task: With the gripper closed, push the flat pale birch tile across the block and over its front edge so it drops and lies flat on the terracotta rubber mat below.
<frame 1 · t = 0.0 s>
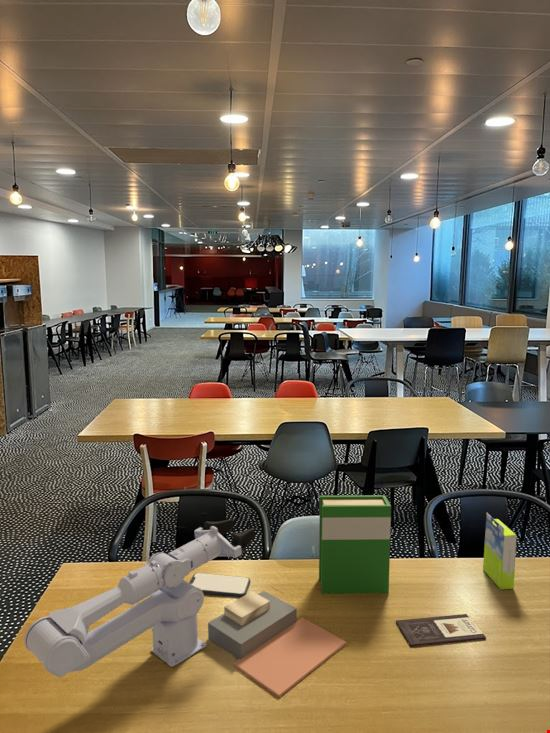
hand: (243, 527, 130), 22 cm above the table, tool horizontal, fingers open, 7 cm apart
phone case: (219, 588, 144), on the table
chocolate bar: (439, 633, 125), on the table
mat: (291, 654, 117), on the table
block: (253, 631, 125), on the table
hardback book: (352, 586, 144), on the table
tile: (247, 607, 125), point 5 cm above the table, touching block
box: (497, 579, 147), on the table
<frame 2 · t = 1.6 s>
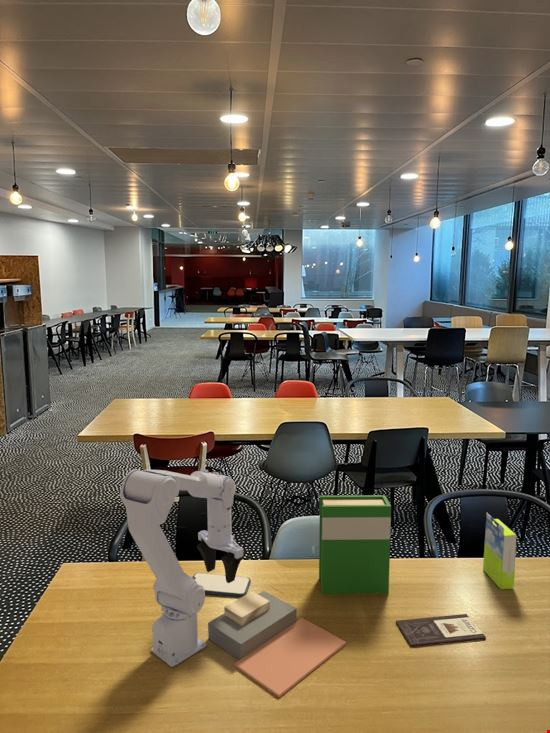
hand: (220, 575, 131), 9 cm above the table, tool pointing down, fingers open, 7 cm apart
nothing on the table moved.
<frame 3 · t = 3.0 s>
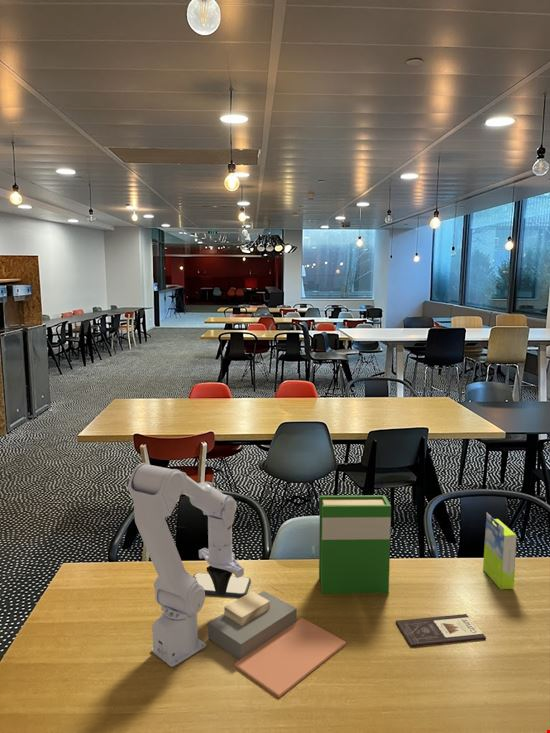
hand: (221, 593, 132), 5 cm above the table, tool pointing down, fingers closed
nothing on the table moved.
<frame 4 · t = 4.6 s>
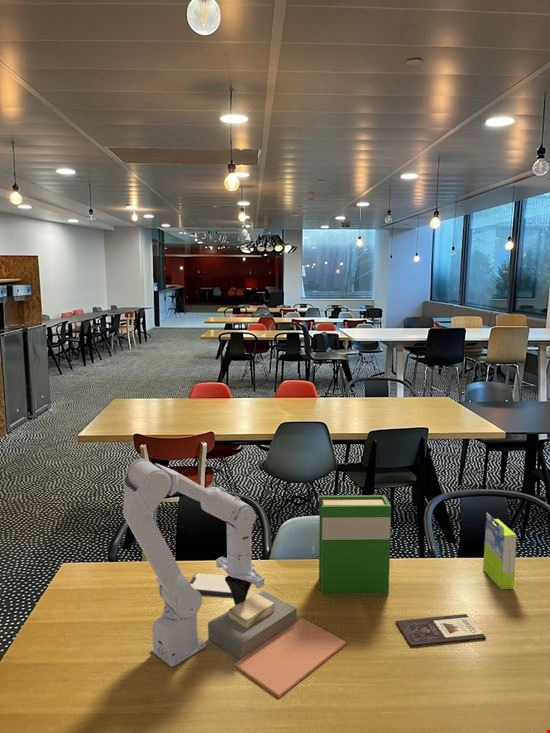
hand: (239, 604, 127), 5 cm above the table, tool pointing down, fingers closed
tile: (251, 610, 124), point 5 cm above the table
everything else where it was.
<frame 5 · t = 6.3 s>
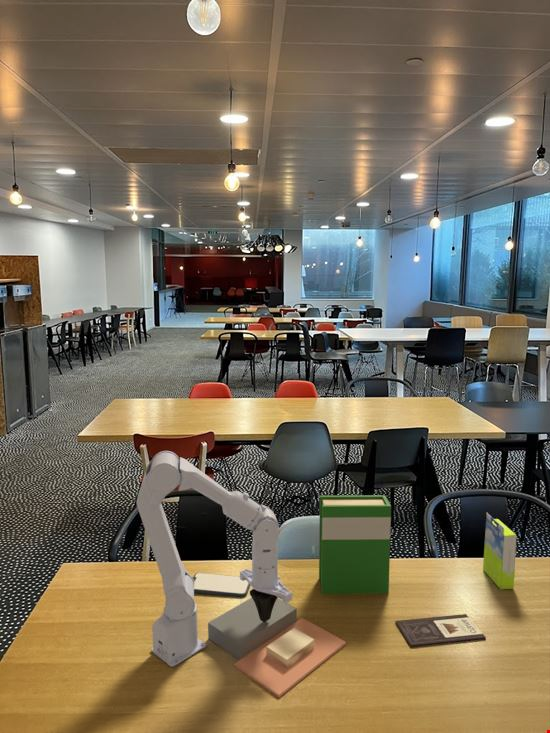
hand: (265, 619, 121), 5 cm above the table, tool pointing down, fingers closed
tile: (290, 647, 117), point 2 cm above the table, tilted 180°, touching mat
everything else where it was.
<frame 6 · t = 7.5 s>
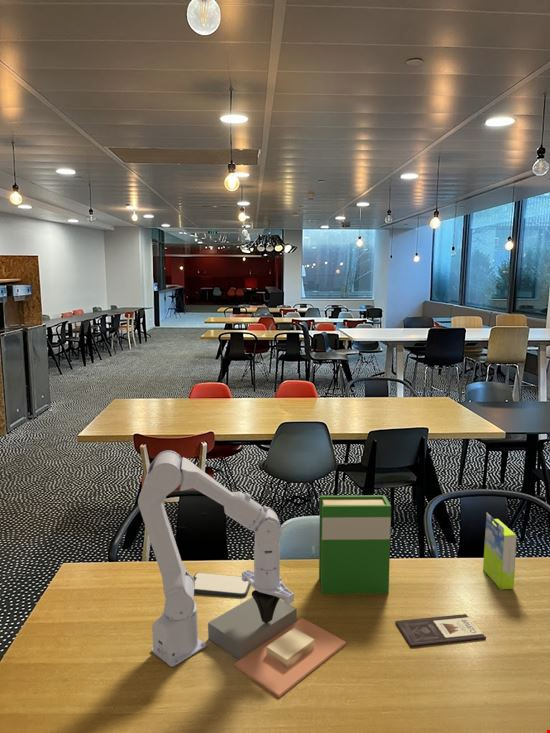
hand: (267, 620, 121), 5 cm above the table, tool pointing down, fingers closed
nothing on the table moved.
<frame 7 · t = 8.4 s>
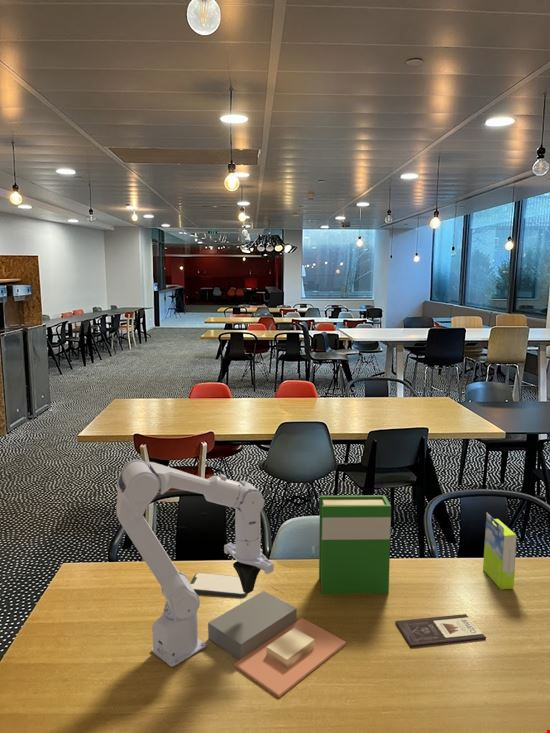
hand: (248, 591, 124), 9 cm above the table, tool pointing down, fingers closed
nothing on the table moved.
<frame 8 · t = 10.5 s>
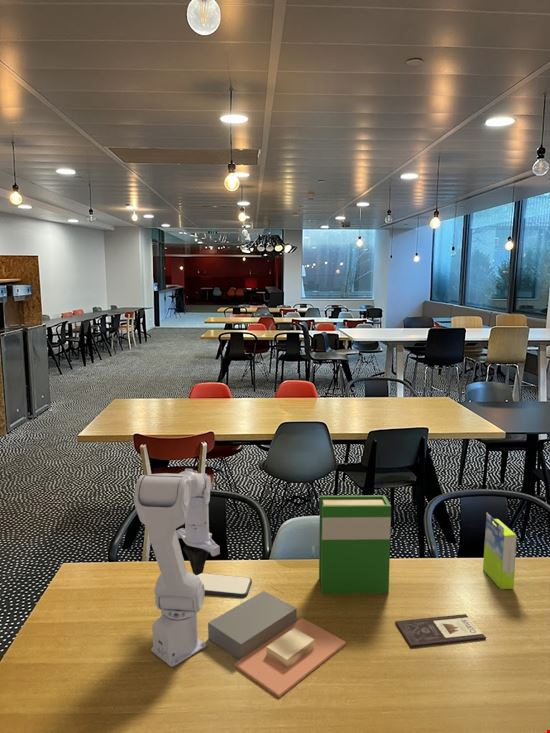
hand: (198, 573, 133), 9 cm above the table, tool pointing down, fingers closed
nothing on the table moved.
at the end: tile inside the target area (0.4 cm from its centre), point 1.6 cm above the table; tile point 1.6 cm above the table; the gripper is holding nothing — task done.
